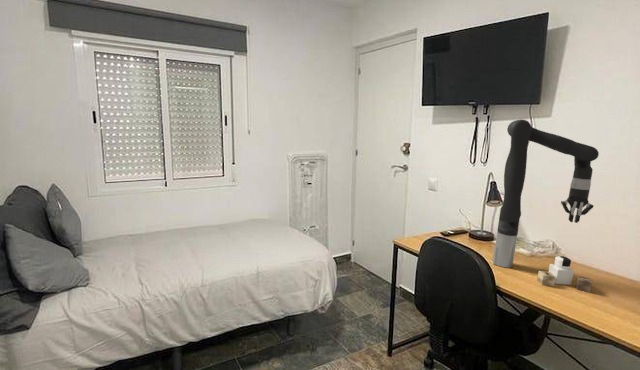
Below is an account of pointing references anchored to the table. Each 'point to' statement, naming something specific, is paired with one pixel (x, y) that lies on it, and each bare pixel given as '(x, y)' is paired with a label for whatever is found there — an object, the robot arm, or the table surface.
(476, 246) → the table surface
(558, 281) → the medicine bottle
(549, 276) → the oak cube
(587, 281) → the walnut cube
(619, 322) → the table surface
